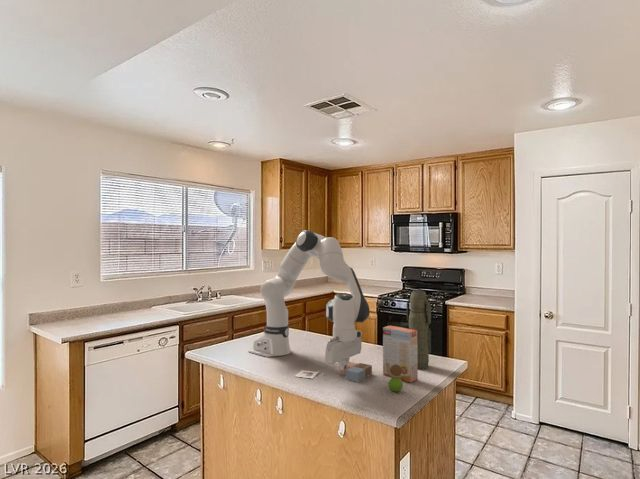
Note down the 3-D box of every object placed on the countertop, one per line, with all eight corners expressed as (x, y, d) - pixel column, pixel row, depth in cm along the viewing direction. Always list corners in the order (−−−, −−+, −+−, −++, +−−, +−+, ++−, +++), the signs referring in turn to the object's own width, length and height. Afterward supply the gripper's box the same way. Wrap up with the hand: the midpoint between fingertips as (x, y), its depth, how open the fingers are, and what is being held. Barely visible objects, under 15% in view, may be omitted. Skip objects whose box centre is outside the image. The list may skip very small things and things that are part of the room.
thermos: (427, 371, 172) (427, 292, 172) (402, 366, 179) (402, 290, 179) (434, 366, 179) (434, 290, 179) (410, 361, 186) (410, 288, 186)
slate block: (345, 379, 163) (345, 370, 163) (353, 375, 168) (353, 366, 168) (357, 382, 159) (357, 373, 159) (365, 378, 164) (365, 369, 164)
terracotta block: (339, 373, 170) (339, 364, 170) (346, 369, 175) (346, 361, 175) (351, 376, 167) (351, 367, 167) (357, 372, 172) (357, 363, 172)
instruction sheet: (294, 376, 166) (294, 375, 166) (301, 370, 173) (301, 370, 173) (312, 379, 163) (312, 378, 163) (318, 372, 171) (318, 371, 171)
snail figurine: (386, 387, 153) (386, 357, 153) (403, 389, 151) (403, 358, 151) (385, 392, 148) (384, 361, 148) (402, 394, 146) (402, 363, 146)
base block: (352, 375, 168) (352, 366, 168) (359, 371, 173) (359, 362, 173) (365, 378, 164) (365, 369, 164) (371, 374, 169) (371, 365, 169)
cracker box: (418, 379, 162) (418, 329, 162) (410, 383, 158) (410, 332, 158) (390, 371, 172) (390, 324, 172) (382, 374, 168) (382, 326, 168)
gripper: (334, 341, 145) (333, 378, 145) (364, 331, 160) (363, 364, 160) (321, 338, 149) (320, 374, 149) (351, 329, 164) (351, 361, 164)
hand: (343, 369), depth 155 cm, fingers closed
